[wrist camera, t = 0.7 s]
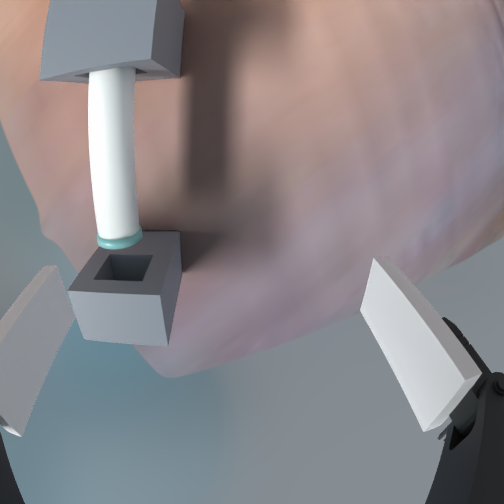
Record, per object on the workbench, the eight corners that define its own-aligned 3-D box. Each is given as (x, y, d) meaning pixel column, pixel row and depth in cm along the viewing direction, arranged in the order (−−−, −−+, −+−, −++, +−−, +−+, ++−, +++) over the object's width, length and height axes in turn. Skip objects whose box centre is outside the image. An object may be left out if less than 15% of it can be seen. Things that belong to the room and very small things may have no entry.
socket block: (110, 231, 34) (67, 290, 22) (179, 231, 35) (160, 295, 23) (117, 272, 37) (84, 339, 25) (182, 274, 37) (168, 346, 26)
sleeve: (108, 23, 22) (52, -9, 10) (185, 13, 23) (162, -36, 11) (102, 85, 26) (39, 80, 14) (179, 77, 26) (150, 58, 15)
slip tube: (109, -12, 16) (92, -28, 12) (154, -20, 16) (142, -39, 12) (106, 229, 27) (90, 249, 23) (147, 229, 28) (135, 249, 24)
